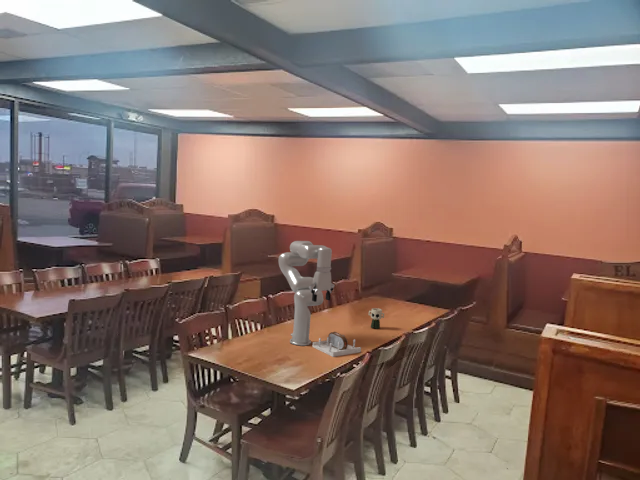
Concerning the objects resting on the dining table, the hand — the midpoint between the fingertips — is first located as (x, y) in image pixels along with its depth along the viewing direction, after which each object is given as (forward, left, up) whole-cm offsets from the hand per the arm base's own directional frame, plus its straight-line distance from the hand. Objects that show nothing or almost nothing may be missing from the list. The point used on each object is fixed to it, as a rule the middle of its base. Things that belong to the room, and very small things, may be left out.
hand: (321, 300), depth 284 cm
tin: (0, +15, -29) cm, 32 cm away
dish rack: (-1, +15, -30) cm, 33 cm away
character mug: (-27, +70, -30) cm, 81 cm away
